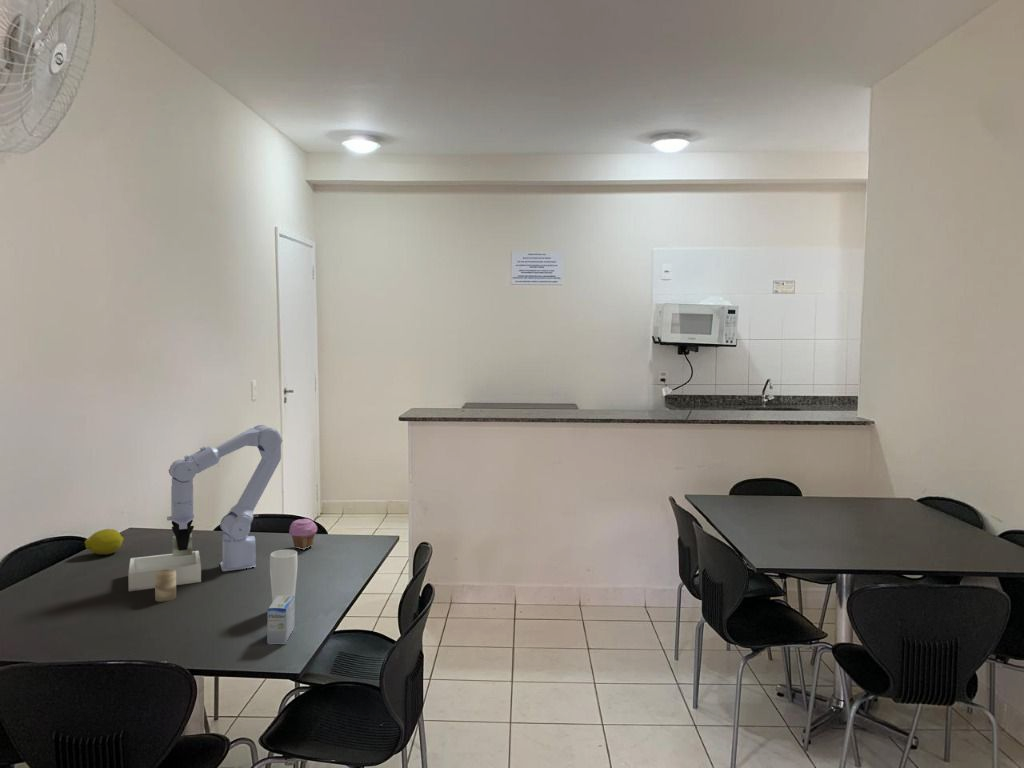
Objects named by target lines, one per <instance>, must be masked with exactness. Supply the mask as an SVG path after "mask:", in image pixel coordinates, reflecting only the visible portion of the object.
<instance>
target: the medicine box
mask: <svg viewBox="0 0 1024 768" xmlns="http://www.w3.org/2000/svg"><path fill="white" fill-rule="evenodd" d="M295 611H296V595H295V596H277V597H276V598H275V600H274V601H273V600H272V603H271V604H270V605H269V607H268V608H267V625H266V626H267V628H266V630H267V632H266V633H267V635H266V638H267V639H266V643H286V642H287V643H288V641H289V640H288V638H289V636H290V634H291V633H292V634H293V632H294V630H295V625H296V624H295V615H296V614H295V613H296V612H295ZM293 629H294V630H293ZM292 631H293V632H292ZM292 634H291V635H292ZM290 637H291V636H290ZM289 639H290V638H289ZM287 640H288V641H287ZM287 643H286V644H287Z"/></svg>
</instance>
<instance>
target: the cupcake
mask: <svg viewBox="0 0 1024 768" xmlns="http://www.w3.org/2000/svg"><path fill="white" fill-rule="evenodd" d="M288 530H289V531H288V533H289V535H290V536H291V538H292V542H293V546H294V548H295V547H300V548H305V547H308V546H310V545H313V546H314V539H315V535H316V534H317V532H318V526H317V524H316V523H315V522H314V521H312V519H309V518H302V519H300V518H299V519H296V520H293V521H292V522H291V524H290V526H289V529H288Z"/></svg>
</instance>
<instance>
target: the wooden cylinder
mask: <svg viewBox="0 0 1024 768" xmlns="http://www.w3.org/2000/svg"><path fill="white" fill-rule="evenodd" d="M154 598H155V602H158V603H159V602H160V603H162V602H163V603H164V602H170V601H173V600H175V599H176V598H177V585H176V570H173V569H166V570H161V571H158V572H156V573H155V588H154Z"/></svg>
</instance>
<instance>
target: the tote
mask: <svg viewBox="0 0 1024 768" xmlns="http://www.w3.org/2000/svg"><path fill="white" fill-rule="evenodd" d="M128 566H129V568H128V578H127V579H128V583H127V584H128V592H135V591H144V590H149V589H150V590H151V589H155V573H156V572H158V571H161V570H166V569H173V570H176V586H180V585H188V584H189V585H190V584H194V583H201V582H202V562H201V557H200V551H199V550H195V551H194V550H192V555H184V556H175V557H173V553H166V554H158V555H149V556H139V557H138V556H137V557H130V560H129V565H128Z"/></svg>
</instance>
